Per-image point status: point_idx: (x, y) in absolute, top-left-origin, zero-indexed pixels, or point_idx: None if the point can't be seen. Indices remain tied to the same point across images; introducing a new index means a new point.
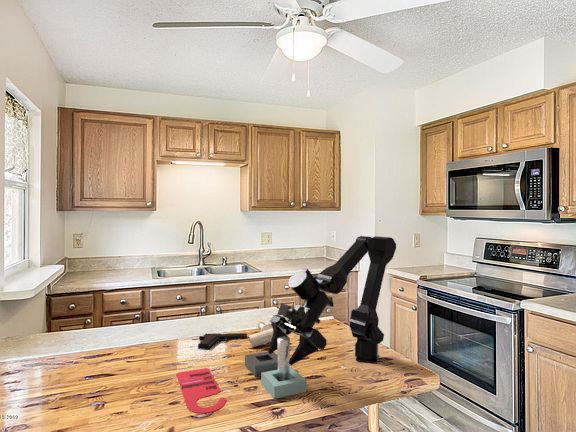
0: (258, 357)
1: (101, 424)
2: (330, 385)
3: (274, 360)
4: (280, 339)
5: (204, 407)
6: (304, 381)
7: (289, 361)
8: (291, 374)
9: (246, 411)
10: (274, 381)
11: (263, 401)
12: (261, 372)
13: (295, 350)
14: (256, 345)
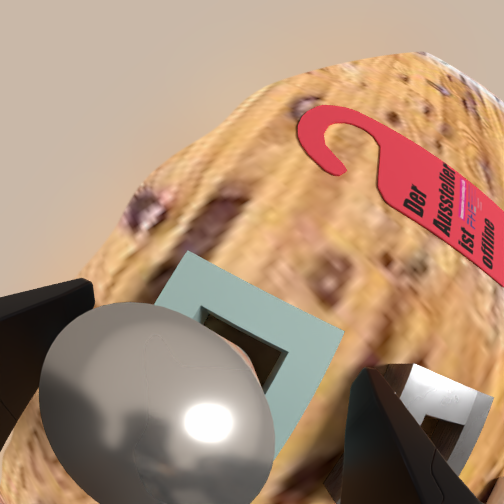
0: (454, 439)
1: (384, 60)
2: None
3: None
4: (150, 346)
5: (329, 122)
6: None
7: (80, 280)
8: None
9: (226, 160)
10: (219, 293)
11: (220, 230)
12: None
13: (6, 311)
14: (493, 490)
